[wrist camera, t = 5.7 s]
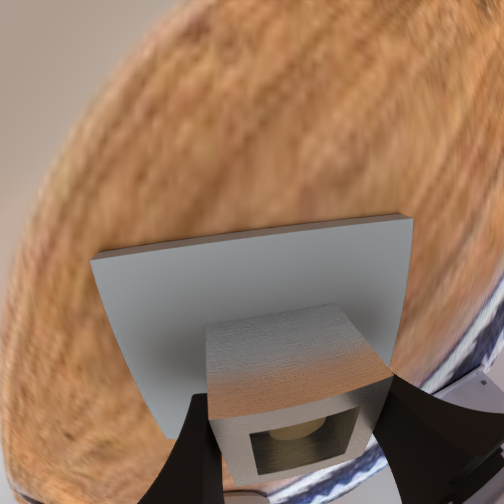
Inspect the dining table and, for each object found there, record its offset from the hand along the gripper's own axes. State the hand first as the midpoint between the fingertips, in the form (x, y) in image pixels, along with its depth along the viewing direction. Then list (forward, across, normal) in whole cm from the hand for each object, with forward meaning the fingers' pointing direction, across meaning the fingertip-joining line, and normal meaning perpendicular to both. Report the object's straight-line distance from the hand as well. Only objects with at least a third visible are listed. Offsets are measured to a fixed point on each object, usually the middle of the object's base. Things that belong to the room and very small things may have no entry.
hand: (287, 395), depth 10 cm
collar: (+2, 0, 0) cm, 2 cm away
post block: (+3, 0, 0) cm, 3 cm away
